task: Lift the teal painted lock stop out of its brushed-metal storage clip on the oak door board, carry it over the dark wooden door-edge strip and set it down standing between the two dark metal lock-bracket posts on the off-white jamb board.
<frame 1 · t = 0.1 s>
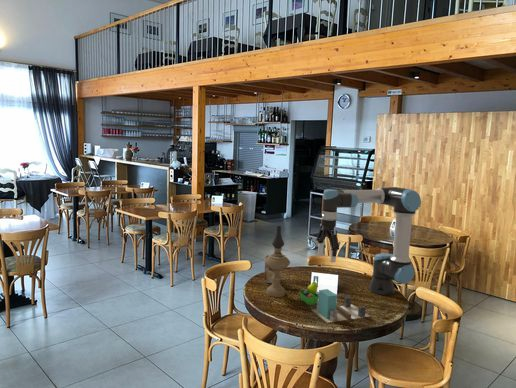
hand: (326, 258, 216), 28 cm above the table, fingers open, 13 cm apart
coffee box: (272, 282, 258), on the table
lock stop: (326, 314, 210), resting on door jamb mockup
oil lamp: (275, 293, 239), on the table
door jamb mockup: (340, 313, 213), on the table
fruit basket: (309, 302, 228), on the table
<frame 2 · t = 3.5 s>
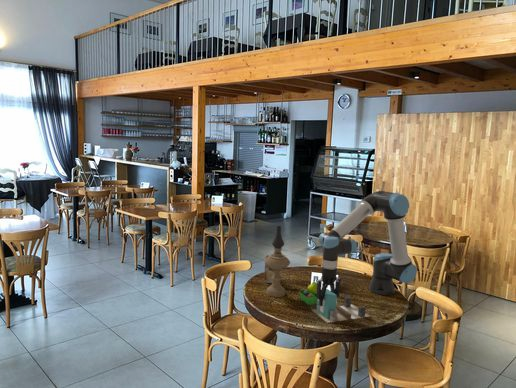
hand: (326, 310, 210), 3 cm above the table, fingers closed on lock stop, 5 cm apart
lock stop: (326, 314, 210), resting on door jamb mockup, touching gripper
everything else where it was.
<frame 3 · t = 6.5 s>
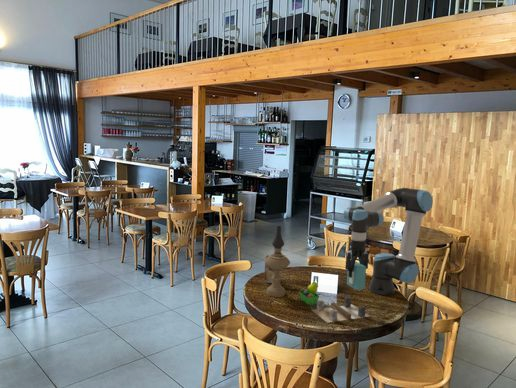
hand: (355, 282, 215), 16 cm above the table, fingers closed on lock stop, 5 cm apart
lock stop: (355, 286, 215), point 14 cm above the table, touching gripper
everything else where it was.
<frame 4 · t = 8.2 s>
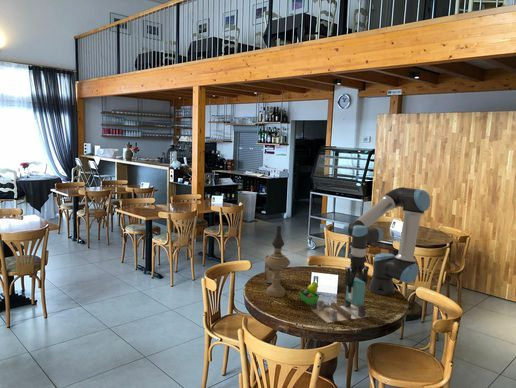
hand: (354, 297, 216), 8 cm above the table, fingers closed on lock stop, 5 cm apart
lock stop: (354, 301, 216), point 6 cm above the table, touching gripper
everything else where it was.
when the fingers open (4 cm above the table, at t = 9.6 s): lock stop drops 1 cm, resting on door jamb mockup.
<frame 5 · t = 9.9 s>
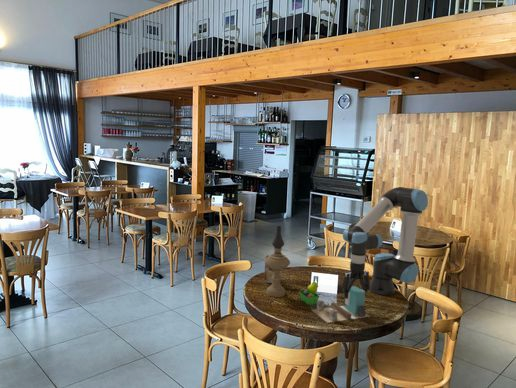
hand: (354, 303, 216), 5 cm above the table, fingers open, 9 cm apart
lock stop: (354, 311, 217), resting on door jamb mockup
everything else where it was.
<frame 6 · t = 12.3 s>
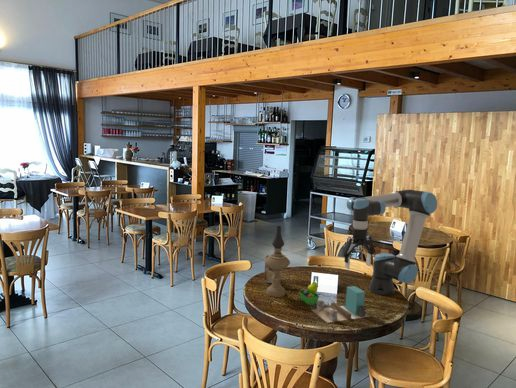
hand: (357, 267, 217), 24 cm above the table, fingers open, 13 cm apart
nothing on the table moved.
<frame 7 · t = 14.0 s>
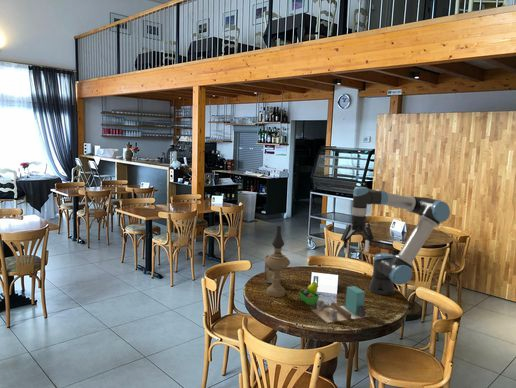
hand: (356, 252, 227), 29 cm above the table, fingers open, 13 cm apart
nothing on the table moved.
at the end: lock stop 0.1 cm from the target spot, point 0.5 cm above the table; lock stop tilted 0°; the gripper is holding nothing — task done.
